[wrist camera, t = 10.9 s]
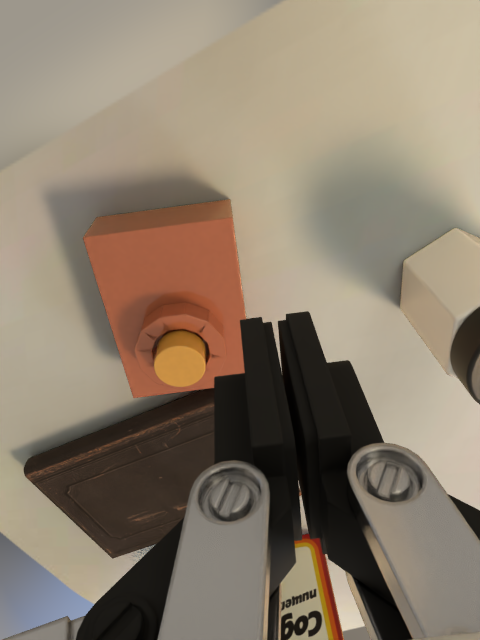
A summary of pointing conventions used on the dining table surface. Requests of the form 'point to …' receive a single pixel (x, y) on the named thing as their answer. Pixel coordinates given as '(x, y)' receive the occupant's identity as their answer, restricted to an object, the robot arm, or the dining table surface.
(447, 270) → the jar
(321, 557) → the baking soda box
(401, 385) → the dining table surface
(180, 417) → the hardcover book
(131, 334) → the push button box
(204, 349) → the yellow push button
